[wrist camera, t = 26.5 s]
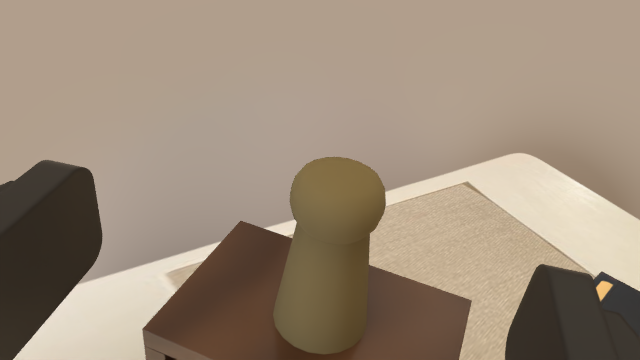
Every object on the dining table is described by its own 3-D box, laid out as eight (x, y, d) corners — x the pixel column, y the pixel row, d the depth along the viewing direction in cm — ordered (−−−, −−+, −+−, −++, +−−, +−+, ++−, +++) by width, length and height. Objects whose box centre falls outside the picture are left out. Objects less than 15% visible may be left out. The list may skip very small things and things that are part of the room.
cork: (337, 371, 31) (366, 221, 25) (253, 322, 33) (261, 174, 27) (382, 308, 35) (416, 168, 29) (306, 269, 37) (322, 131, 31)
